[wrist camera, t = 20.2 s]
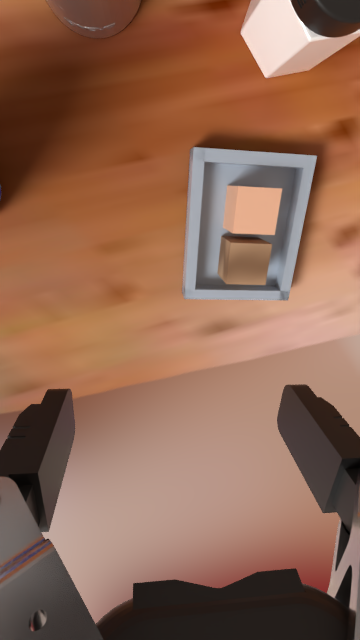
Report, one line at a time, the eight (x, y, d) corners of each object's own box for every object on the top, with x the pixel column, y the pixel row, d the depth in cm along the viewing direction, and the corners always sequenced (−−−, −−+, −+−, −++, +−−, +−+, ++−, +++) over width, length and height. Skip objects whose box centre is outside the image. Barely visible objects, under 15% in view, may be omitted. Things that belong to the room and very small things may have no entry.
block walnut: (221, 235, 37) (230, 242, 33) (258, 237, 37) (272, 244, 33) (217, 273, 39) (226, 284, 35) (252, 274, 39) (265, 284, 35)
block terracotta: (227, 185, 35) (238, 186, 31) (266, 187, 35) (282, 188, 31) (222, 227, 36) (232, 233, 32) (260, 229, 37) (274, 234, 33)
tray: (190, 149, 33) (193, 147, 31) (305, 157, 35) (317, 155, 33) (182, 292, 40) (184, 299, 37) (280, 293, 41) (288, 300, 39)
